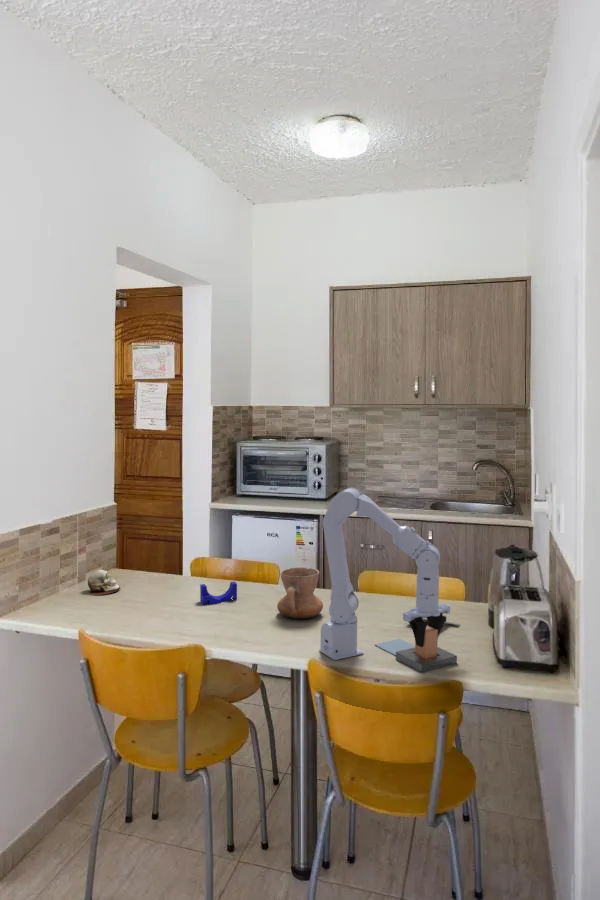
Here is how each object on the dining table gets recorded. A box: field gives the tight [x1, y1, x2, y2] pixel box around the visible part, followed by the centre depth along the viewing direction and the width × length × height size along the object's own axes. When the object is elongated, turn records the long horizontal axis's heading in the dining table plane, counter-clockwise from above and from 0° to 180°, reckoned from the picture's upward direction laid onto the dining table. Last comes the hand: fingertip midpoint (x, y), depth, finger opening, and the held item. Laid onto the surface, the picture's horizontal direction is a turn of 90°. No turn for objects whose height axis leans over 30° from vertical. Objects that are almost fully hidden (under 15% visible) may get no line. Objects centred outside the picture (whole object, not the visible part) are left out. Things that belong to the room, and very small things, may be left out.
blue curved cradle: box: [199, 581, 238, 606], centre depth 222 cm, size 12×4×6 cm, turn 111°
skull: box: [87, 569, 121, 596], centre depth 234 cm, size 12×10×10 cm
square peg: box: [414, 625, 439, 659], centre depth 170 cm, size 4×4×7 cm
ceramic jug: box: [276, 566, 324, 620], centre depth 207 cm, size 18×14×14 cm
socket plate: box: [395, 646, 458, 674], centre depth 170 cm, size 12×10×2 cm
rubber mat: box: [374, 638, 415, 657], centre depth 180 cm, size 9×9×1 cm
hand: (426, 644), depth 170 cm, fingers closed on square peg, 4 cm apart
